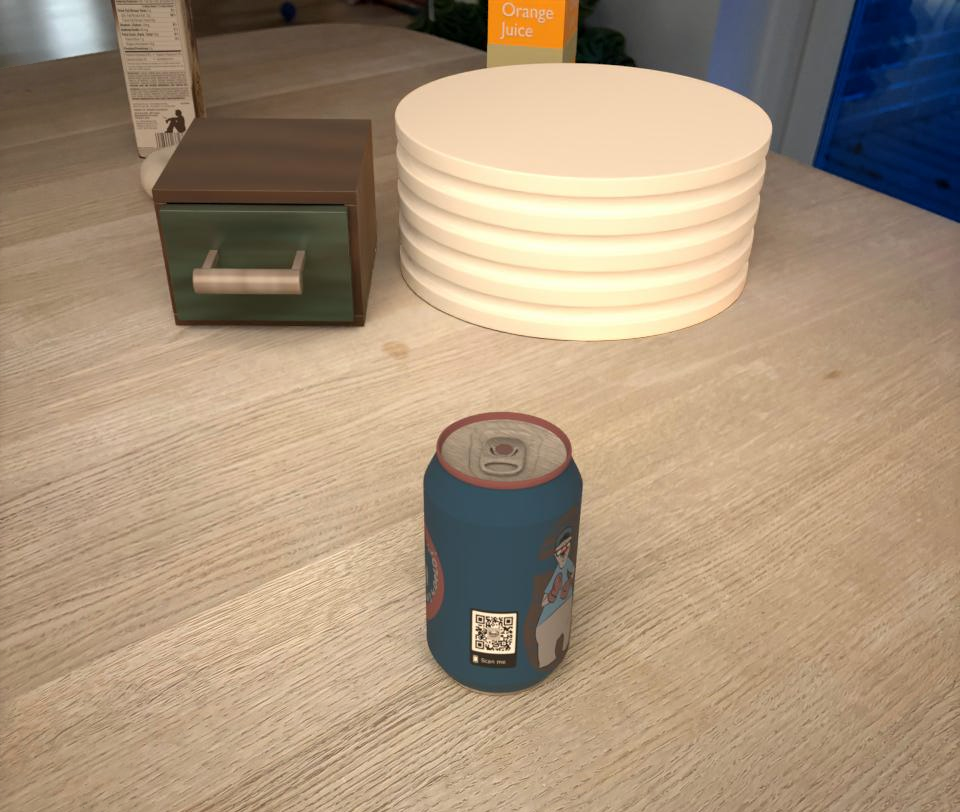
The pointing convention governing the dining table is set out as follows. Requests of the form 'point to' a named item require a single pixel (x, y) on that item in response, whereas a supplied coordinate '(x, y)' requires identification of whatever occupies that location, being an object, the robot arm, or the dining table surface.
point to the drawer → (259, 261)
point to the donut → (154, 167)
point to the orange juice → (531, 32)
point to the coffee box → (160, 68)
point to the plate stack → (578, 198)
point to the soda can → (500, 550)
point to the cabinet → (279, 182)
